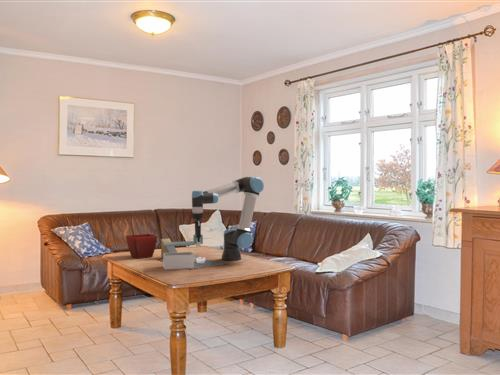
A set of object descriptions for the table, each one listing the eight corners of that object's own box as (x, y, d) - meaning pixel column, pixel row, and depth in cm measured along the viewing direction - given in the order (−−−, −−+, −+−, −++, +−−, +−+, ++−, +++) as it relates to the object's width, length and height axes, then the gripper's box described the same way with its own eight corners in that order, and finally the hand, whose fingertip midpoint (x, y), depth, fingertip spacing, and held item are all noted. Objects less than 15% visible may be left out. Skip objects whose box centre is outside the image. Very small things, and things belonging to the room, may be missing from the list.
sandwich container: (174, 260, 338) (174, 240, 338) (160, 258, 348) (160, 239, 347) (182, 259, 345) (182, 239, 344) (169, 256, 354) (169, 238, 354)
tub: (191, 265, 316) (191, 251, 316) (193, 269, 305) (193, 254, 305) (163, 267, 311) (163, 252, 311) (164, 270, 300) (164, 255, 300)
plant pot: (125, 256, 356) (125, 235, 355) (148, 254, 367) (148, 233, 367) (134, 259, 340) (134, 237, 340) (158, 257, 351) (157, 236, 351)
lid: (201, 242, 318) (200, 233, 318) (203, 244, 306) (203, 235, 306) (163, 243, 312) (163, 235, 311) (164, 246, 299) (164, 237, 299)
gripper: (190, 212, 318) (191, 244, 319) (193, 213, 302) (194, 248, 302) (201, 211, 320) (201, 244, 321) (204, 213, 303) (205, 247, 304)
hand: (198, 246), depth 311 cm, fingers closed on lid, 4 cm apart
